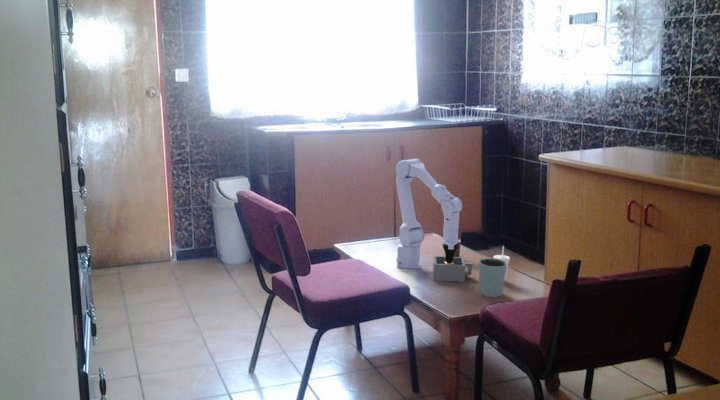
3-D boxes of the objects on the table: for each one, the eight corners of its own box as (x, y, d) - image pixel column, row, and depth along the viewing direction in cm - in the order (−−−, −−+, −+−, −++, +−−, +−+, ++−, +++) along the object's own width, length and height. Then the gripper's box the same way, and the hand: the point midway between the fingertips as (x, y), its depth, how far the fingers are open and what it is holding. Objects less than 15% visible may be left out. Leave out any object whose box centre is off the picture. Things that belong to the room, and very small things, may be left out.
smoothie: (498, 284, 280) (501, 249, 277) (488, 279, 286) (490, 244, 283) (511, 282, 283) (514, 247, 280) (501, 277, 289) (503, 243, 286)
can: (459, 260, 311) (461, 228, 309) (444, 258, 313) (446, 227, 310) (460, 256, 317) (462, 224, 314) (445, 255, 318) (447, 223, 316)
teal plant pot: (485, 287, 276) (487, 256, 274) (509, 293, 270) (512, 262, 267) (471, 293, 268) (474, 262, 266) (496, 300, 262) (498, 267, 260)
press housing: (433, 280, 282) (434, 264, 281) (432, 271, 294) (433, 255, 293) (471, 282, 281) (472, 266, 280) (469, 273, 293) (470, 257, 292)
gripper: (462, 233, 277) (460, 268, 279) (460, 225, 291) (458, 257, 293) (443, 233, 277) (441, 267, 280) (442, 224, 291) (440, 257, 294)
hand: (449, 262), depth 287 cm, fingers closed, pressing on plunger
